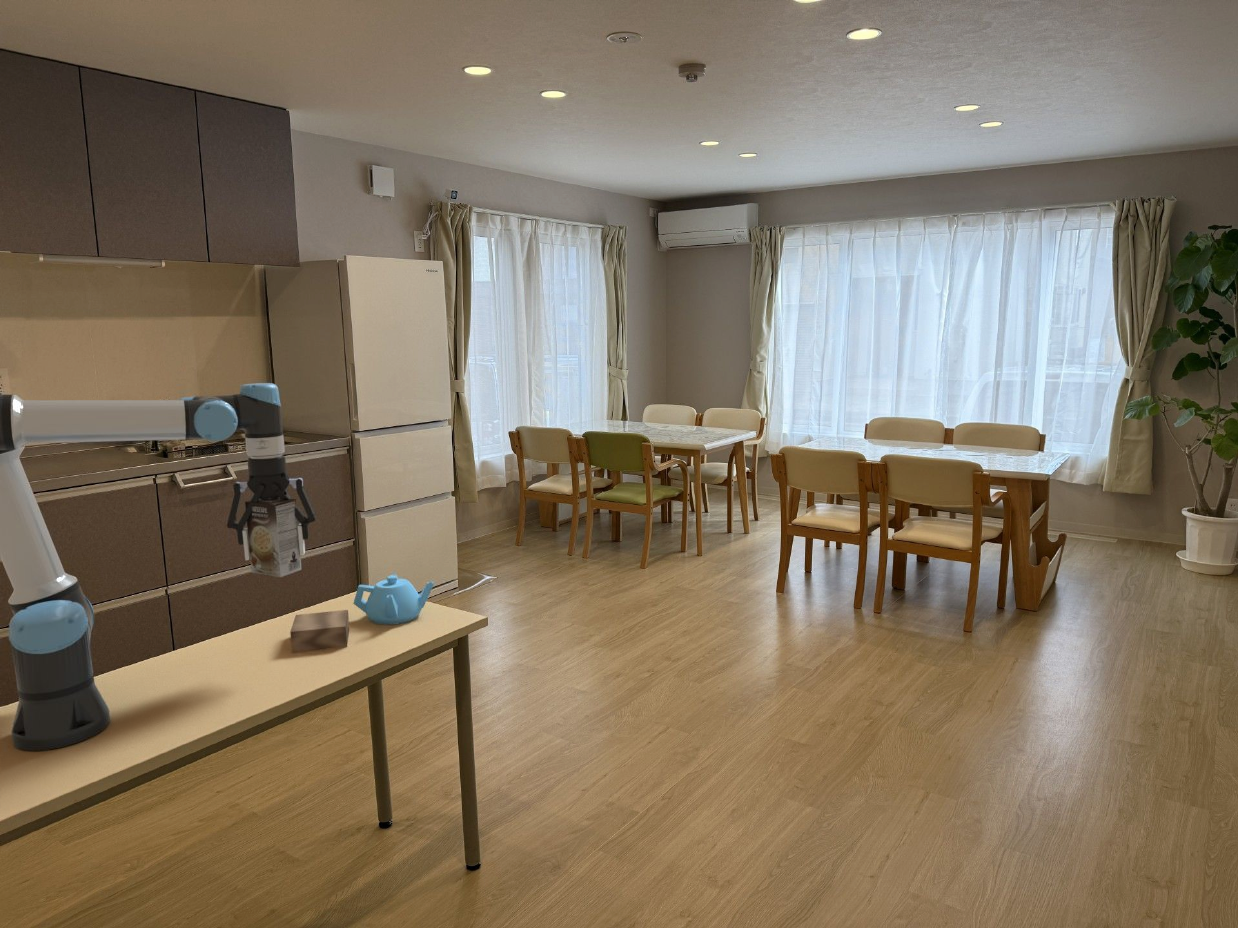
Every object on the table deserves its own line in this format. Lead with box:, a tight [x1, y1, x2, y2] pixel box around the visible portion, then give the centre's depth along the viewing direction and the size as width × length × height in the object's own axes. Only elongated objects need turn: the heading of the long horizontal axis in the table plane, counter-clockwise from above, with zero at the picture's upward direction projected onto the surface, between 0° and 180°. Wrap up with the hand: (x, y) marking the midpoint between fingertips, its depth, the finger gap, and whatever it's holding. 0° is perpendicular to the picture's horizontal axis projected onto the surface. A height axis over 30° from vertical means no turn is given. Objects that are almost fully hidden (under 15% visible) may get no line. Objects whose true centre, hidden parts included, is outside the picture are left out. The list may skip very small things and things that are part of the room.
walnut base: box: [289, 609, 350, 654], centre depth 199 cm, size 12×12×5 cm
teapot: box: [352, 573, 434, 626], centre depth 214 cm, size 15×15×11 cm
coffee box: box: [244, 498, 302, 578], centre depth 182 cm, size 9×6×16 cm
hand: (275, 556), depth 183 cm, fingers closed on coffee box, 10 cm apart
